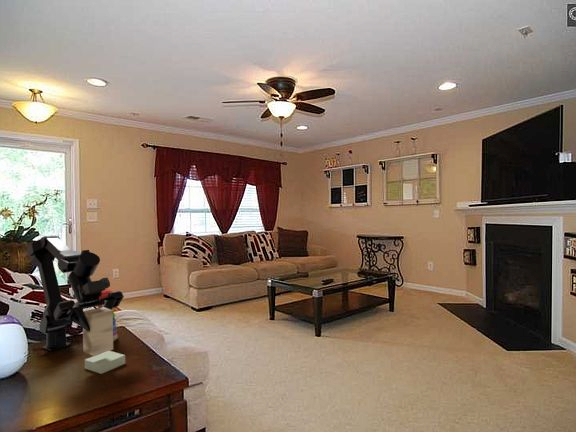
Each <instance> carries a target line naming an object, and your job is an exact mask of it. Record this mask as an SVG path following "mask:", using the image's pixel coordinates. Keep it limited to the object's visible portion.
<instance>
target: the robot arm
mask: <svg viewBox="0 0 576 432" xmlns="http://www.w3.org/2000/svg"><path fill="white" fill-rule="evenodd" d="M26 252H27V256H28V257H29V259H30V262H31V263H32V264H33V265H35V266H36V267H37V268H38V272H39V277H40V281H41V286H42V290H43V294H44V299H45V304H46V306H45V308H44V310H43V313H42V319H41V321H40V323H39V326H38V327H39V332H41V333H42V334H46V345H42V346H41V349H44V350H47V351H50V352H53V351H56V350H60V349H62V348H65V347H69V346H71V345H72V344H71V342H67V332H66V331H67V329H69V328H72V327H73V323H74V324H76V325H78V326H79V327H81V328H82V329H83V328H84V329H85V330H86V331H88V332H89V331H90V327H89V324H88V322H87V320H86V318H85V315H84V313H83V311H84V310H85V309H90V308H94V307H99V306H100V305H102V307H105V308H108V309H111V310H112V308H117V307H119V305H120V304H121V302H122V300H123V299H124V297H125V296H124V294H123V292H122V291H121V290H118V291H117V290H116V291H112V292H110V293H108V295H107V297H106V298H102V299H99V297H100V296H101V295H102V291H103V290H107V289H109V288H110V287H111V283H110V280H109V278H108V277H102V278H100V279H99V280H93V281H92V279H91V276H93V275H94V273H95V271H96V270H97V268H98V266H99V264H100V261H101V259H100V258H101V257H100V256H98V254H95V253H94V252H90V250H89V249H85V250H84V249H83V250H81V252H80V251H77V250H73V249H71V248H70V247H69V246H68V245H66V244H65V242H63V241H62V240H61V239H60V236H59V235H43V236H42V237H40V238H39V239H37V240H35V241H32V242H30V244H29V245H28V246H27V248H26ZM55 260H57V268H58V269H59V270H60V272H61V273H63V274H65V273H66V274H67V273H69V274H68V276H67V285H70V287H71V289H72V292H73V295H72V298H73V299H75V300H76V302H75V301H74V300H73V299H69V300H64V299H63V298H62V293H61V289H60V285H59V281H58V277H57V273H56V269H55V265H54V264H55V263H54V262H55Z"/></svg>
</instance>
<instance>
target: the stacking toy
mask: <svg viewBox="0 0 576 432" xmlns="http://www.w3.org/2000/svg"><path fill="white" fill-rule="evenodd" d="M110 292H113V291H112V290H111V289H106V290H103V291H102V295H101V296H100V297H99V299H102V298H106V297H107V295H108V293H110ZM100 307H102V305H100V306H98V308H100ZM114 308H115V307H114ZM114 308H112V310H113V342H115V341H116V340H117V339H118V337H119V334H118V333H117V332H118V330H117V323H116V322H117V321H116V318H115V317H116V314H115V309H114Z"/></svg>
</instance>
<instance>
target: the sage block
mask: <svg viewBox="0 0 576 432" xmlns="http://www.w3.org/2000/svg"><path fill="white" fill-rule="evenodd" d="M125 364H126V355H125V354H122V353H119V352H115V351H112V350H110V351H107V352H104V353H100V354H97V355H94V356H90V357H87V358H85V359H84V369H85V370H88V371H91V372H94V373H97V374H100V375H101V374H104V373H107V372H109V371H111V370H114V369H116V368H119V367H120V366H123V365H125Z"/></svg>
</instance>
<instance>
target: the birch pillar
mask: <svg viewBox="0 0 576 432" xmlns="http://www.w3.org/2000/svg"><path fill="white" fill-rule="evenodd" d="M83 313H84V315H85V318H86V320H87V322H88V324H89V327H90V331H89V332H88V331H86V330H85V329H84V328H82V346H83V347H82V349H83V350H82V351H83V352H84V353H86V354H88V355H91V357H93V356H96V355H99V354H101V353H104V352H107V351H112V350H114V341H113V313H114V312H113V310H111V309H108V308H105V307H100V308H99V307H96V308H93V309H88V310H83Z"/></svg>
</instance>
